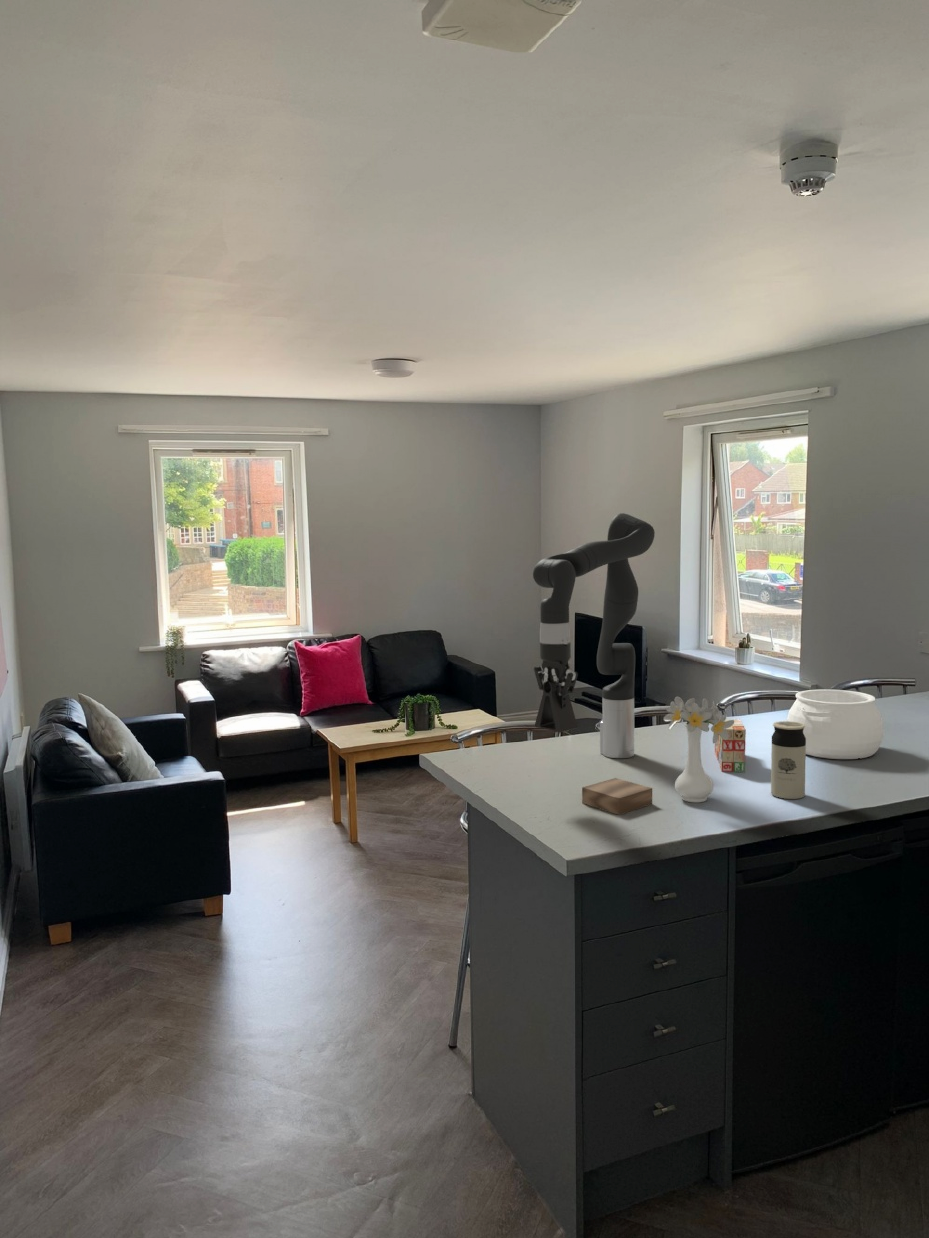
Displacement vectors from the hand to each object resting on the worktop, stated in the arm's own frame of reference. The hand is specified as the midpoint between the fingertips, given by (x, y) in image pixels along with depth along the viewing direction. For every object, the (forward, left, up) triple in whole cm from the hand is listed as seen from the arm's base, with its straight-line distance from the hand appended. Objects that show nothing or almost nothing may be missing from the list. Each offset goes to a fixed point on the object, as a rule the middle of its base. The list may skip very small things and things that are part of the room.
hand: (556, 708), depth 225 cm
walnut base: (+13, +8, -23) cm, 27 cm away
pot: (+22, +92, -23) cm, 97 cm away
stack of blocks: (+8, +60, -23) cm, 65 cm away
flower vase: (+24, +25, -23) cm, 41 cm away
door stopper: (0, 0, -5) cm, 5 cm away
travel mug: (+37, +44, -23) cm, 62 cm away
